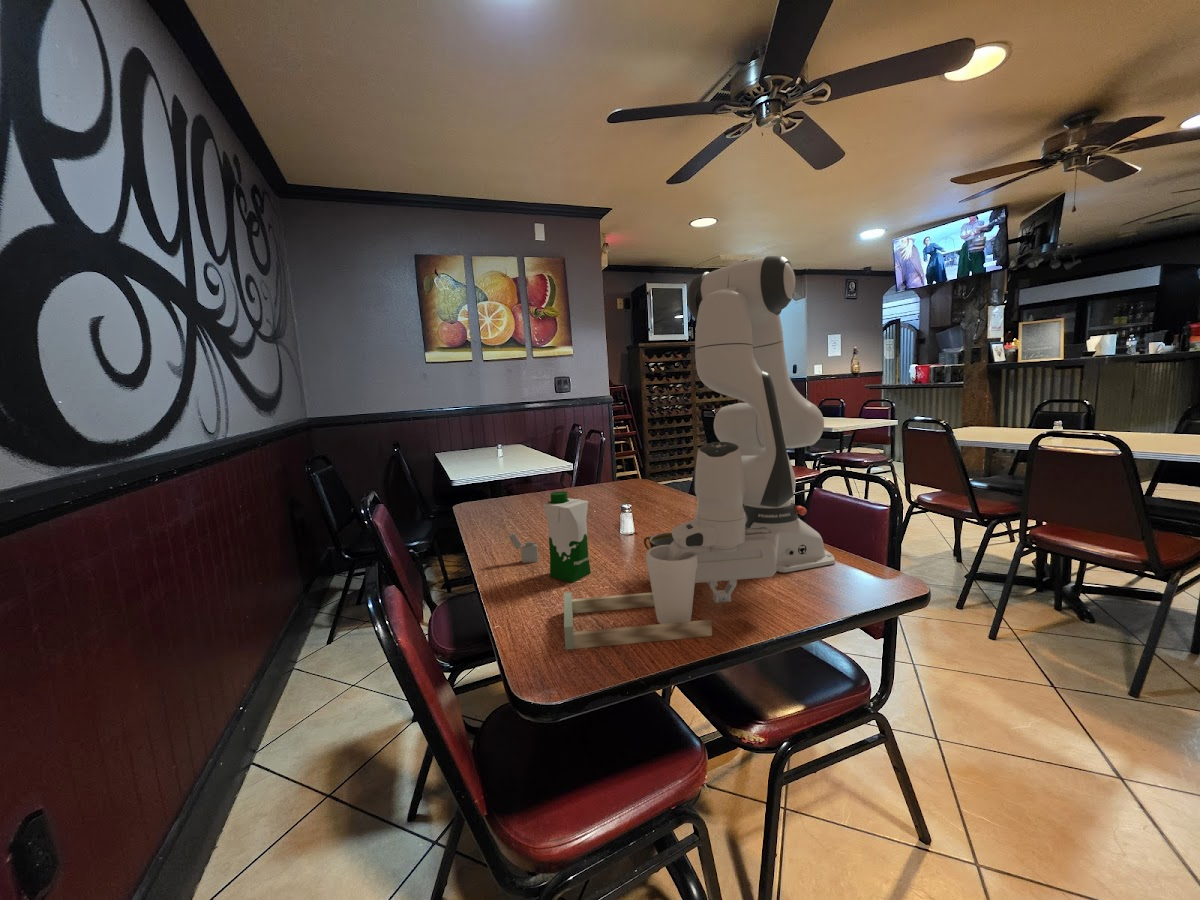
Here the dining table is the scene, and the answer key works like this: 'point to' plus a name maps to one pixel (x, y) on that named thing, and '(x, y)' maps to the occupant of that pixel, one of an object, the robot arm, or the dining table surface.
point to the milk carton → (567, 537)
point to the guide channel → (637, 632)
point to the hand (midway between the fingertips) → (722, 601)
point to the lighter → (525, 549)
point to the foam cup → (671, 585)
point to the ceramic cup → (659, 540)
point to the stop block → (568, 621)
